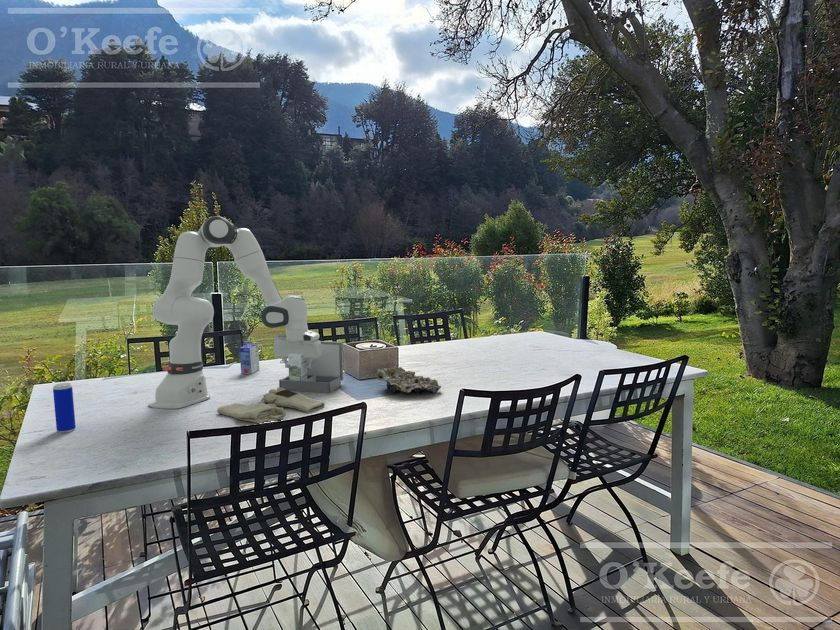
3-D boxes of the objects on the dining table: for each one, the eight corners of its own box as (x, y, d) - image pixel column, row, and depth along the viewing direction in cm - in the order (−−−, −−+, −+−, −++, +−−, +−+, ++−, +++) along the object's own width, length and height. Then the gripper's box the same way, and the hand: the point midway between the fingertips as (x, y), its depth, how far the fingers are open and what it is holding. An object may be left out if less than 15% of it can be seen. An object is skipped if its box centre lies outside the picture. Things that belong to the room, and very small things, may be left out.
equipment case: (330, 393, 224) (329, 348, 222) (279, 389, 230) (277, 345, 228) (343, 384, 238) (342, 342, 236) (295, 381, 243) (294, 340, 241)
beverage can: (79, 427, 184) (75, 382, 182) (69, 433, 178) (65, 386, 177) (62, 428, 183) (58, 382, 182) (53, 433, 178) (49, 386, 176)
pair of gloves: (283, 396, 221) (283, 383, 221) (327, 408, 205) (327, 394, 205) (213, 415, 198) (212, 400, 197) (257, 430, 182) (256, 414, 182)
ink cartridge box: (248, 369, 268) (247, 338, 266) (260, 369, 267) (258, 338, 265) (240, 373, 258) (238, 342, 256) (251, 374, 257) (250, 342, 255)
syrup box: (308, 385, 236) (307, 351, 234) (301, 389, 230) (300, 354, 228) (295, 385, 237) (294, 350, 235) (288, 388, 232) (287, 353, 230)
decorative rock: (399, 400, 212) (398, 373, 211) (368, 393, 234) (367, 369, 234) (448, 392, 223) (446, 366, 223) (414, 386, 245) (412, 363, 245)
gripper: (270, 335, 231) (271, 368, 233) (316, 337, 226) (318, 371, 228) (277, 332, 237) (278, 365, 239) (323, 334, 232) (324, 367, 234)
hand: (298, 368), depth 233 cm, fingers open, 8 cm apart
